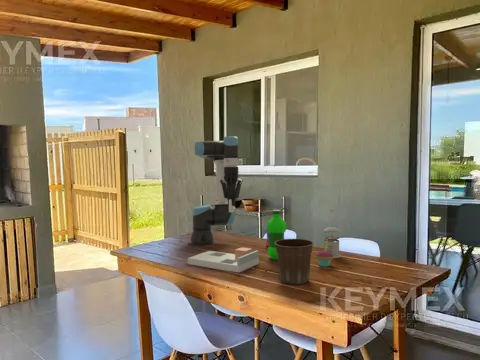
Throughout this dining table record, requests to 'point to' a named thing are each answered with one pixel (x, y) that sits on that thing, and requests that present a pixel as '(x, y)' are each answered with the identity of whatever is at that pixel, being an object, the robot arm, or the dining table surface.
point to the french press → (332, 241)
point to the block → (242, 252)
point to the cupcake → (324, 257)
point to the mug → (267, 237)
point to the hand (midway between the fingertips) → (231, 211)
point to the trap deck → (225, 260)
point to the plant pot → (294, 260)
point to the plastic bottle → (275, 232)
